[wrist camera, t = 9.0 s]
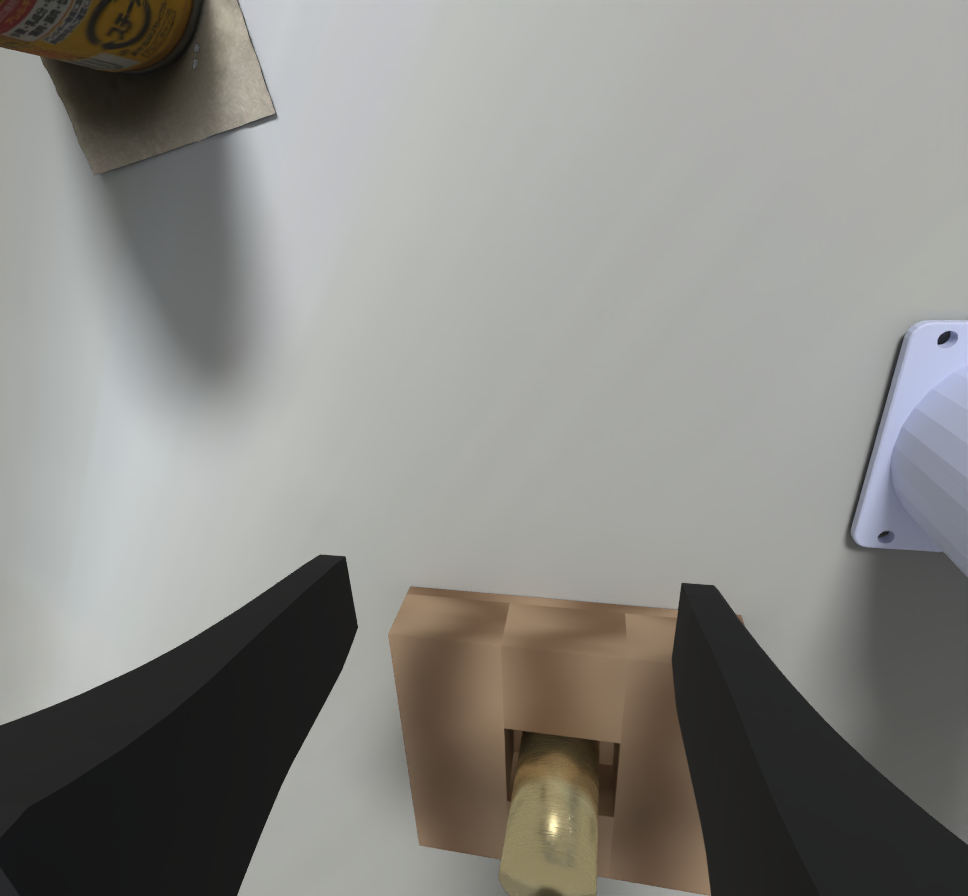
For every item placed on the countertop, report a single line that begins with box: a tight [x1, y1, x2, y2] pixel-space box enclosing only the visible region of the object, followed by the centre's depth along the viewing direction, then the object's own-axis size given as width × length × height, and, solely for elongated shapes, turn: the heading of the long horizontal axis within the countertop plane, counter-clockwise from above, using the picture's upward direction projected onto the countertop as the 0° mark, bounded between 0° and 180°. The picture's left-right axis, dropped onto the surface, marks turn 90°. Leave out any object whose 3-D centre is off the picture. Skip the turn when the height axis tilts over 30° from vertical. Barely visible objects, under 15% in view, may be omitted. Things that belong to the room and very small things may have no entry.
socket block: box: [388, 587, 744, 896], centre depth 26 cm, size 14×14×3 cm
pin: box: [499, 731, 600, 896], centre depth 23 cm, size 4×4×7 cm
